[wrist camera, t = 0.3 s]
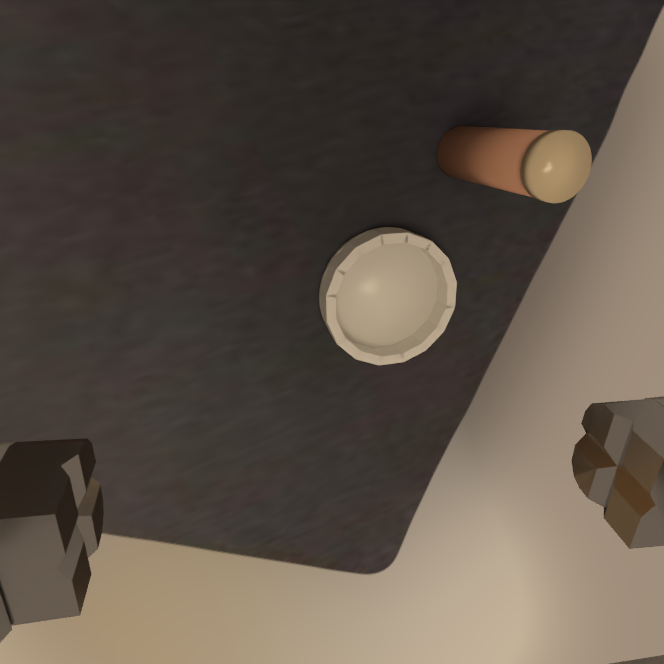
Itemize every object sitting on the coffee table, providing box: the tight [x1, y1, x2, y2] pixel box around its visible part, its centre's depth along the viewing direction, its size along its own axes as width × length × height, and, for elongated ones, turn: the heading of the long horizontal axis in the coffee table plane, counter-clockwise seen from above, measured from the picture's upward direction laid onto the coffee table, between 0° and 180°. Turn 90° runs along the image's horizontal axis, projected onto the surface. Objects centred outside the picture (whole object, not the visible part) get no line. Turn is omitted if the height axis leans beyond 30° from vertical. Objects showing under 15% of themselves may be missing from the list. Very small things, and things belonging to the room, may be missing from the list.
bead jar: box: [437, 126, 592, 203], centre depth 48 cm, size 5×5×16 cm
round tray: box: [319, 227, 457, 365], centre depth 57 cm, size 14×14×3 cm
